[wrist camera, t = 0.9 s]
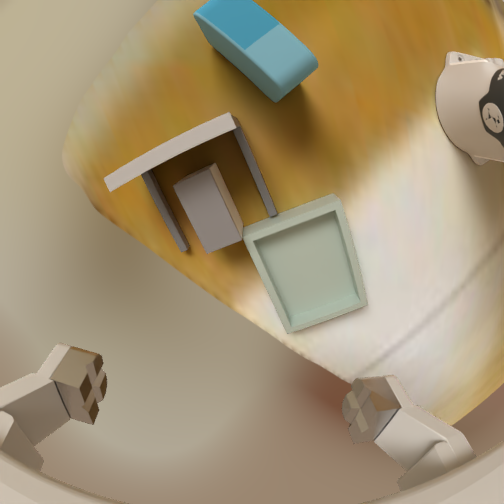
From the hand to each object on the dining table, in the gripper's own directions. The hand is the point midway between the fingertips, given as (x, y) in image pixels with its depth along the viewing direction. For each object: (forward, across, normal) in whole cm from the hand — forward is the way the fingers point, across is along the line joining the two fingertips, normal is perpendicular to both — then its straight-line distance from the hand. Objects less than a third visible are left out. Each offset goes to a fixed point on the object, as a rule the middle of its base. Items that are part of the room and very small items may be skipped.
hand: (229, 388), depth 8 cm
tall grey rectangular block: (+31, +2, 0) cm, 31 cm away
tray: (+31, -12, +7) cm, 34 cm away
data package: (+30, 0, -18) cm, 35 cm away
